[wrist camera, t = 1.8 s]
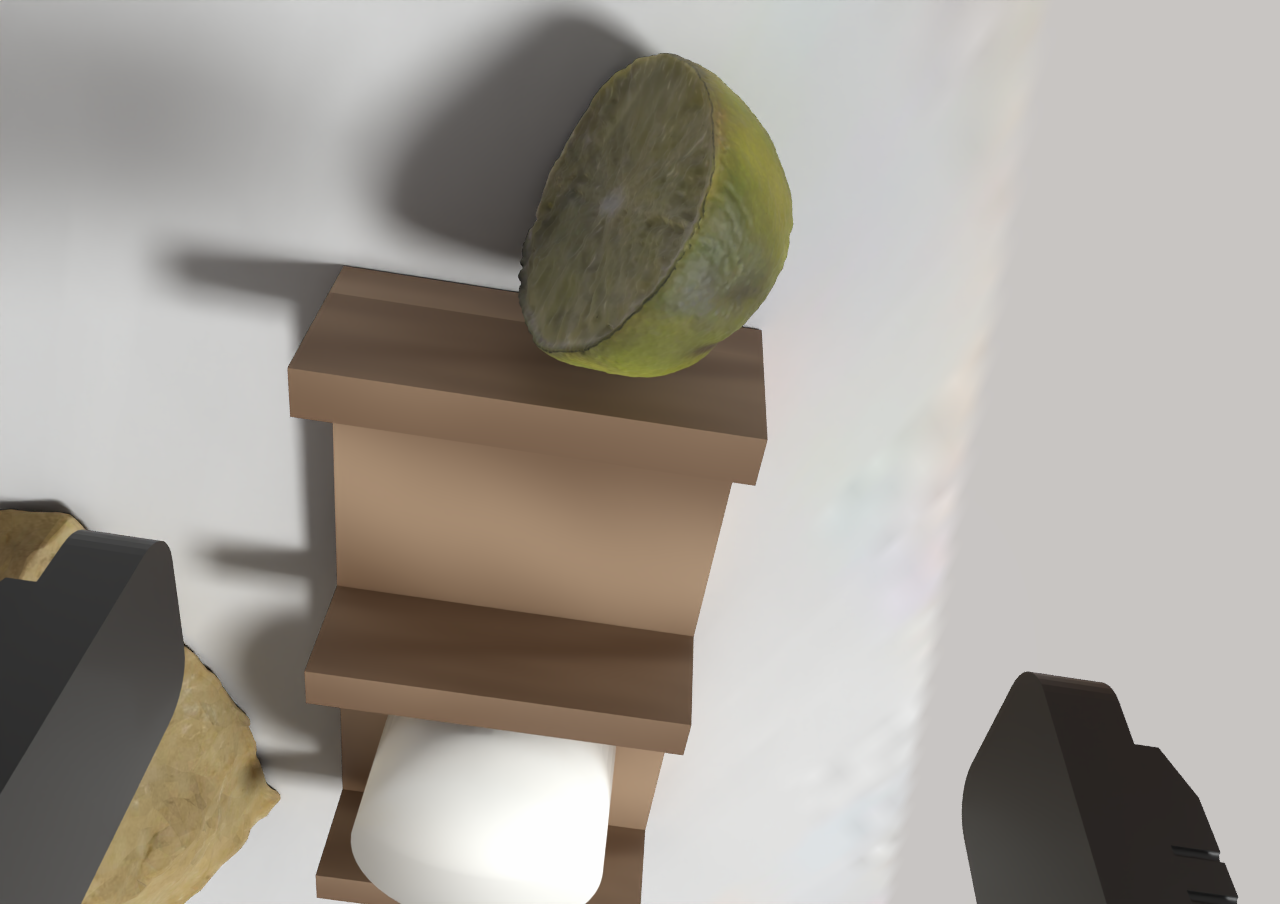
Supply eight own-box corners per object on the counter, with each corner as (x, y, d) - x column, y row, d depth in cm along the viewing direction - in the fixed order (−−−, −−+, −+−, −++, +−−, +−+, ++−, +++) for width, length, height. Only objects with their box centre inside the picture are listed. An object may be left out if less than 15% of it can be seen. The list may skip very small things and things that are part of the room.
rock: (-219, 494, 23) (-220, 821, 27) (-156, 829, 18) (-169, 1159, 22) (295, 461, 30) (225, 725, 35) (444, 693, 25) (339, 966, 30)
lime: (533, 277, 21) (490, 436, 18) (524, 14, 19) (470, 133, 15) (771, 289, 21) (782, 451, 17) (799, 25, 18) (821, 149, 14)
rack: (343, 266, 21) (287, 367, 19) (761, 330, 22) (767, 440, 19) (353, 780, 31) (316, 897, 28) (641, 819, 32) (634, 939, 29)
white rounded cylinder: (388, 639, 26) (346, 764, 23) (629, 671, 26) (615, 800, 24) (390, 786, 30) (354, 910, 27) (604, 815, 30) (590, 942, 27)
